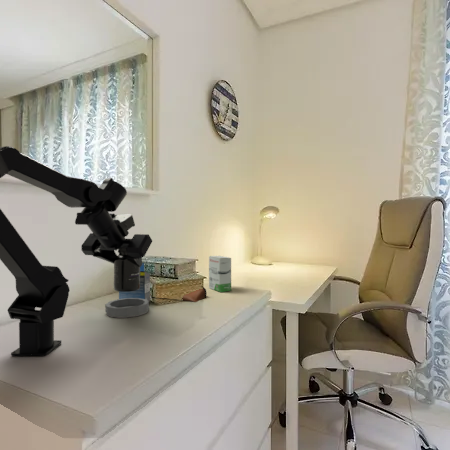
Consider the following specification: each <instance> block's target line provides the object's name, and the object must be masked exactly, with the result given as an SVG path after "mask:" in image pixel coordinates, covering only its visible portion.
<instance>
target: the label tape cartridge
mask: <svg viewBox="0 0 450 450" xmlns="http://www.w3.org/2000/svg"><path fill="white" fill-rule="evenodd" d="M150 278H151V274H150V273H148V272H147V271H145V262H142V266H141V267H140V288H139V289H138V290H136V291H130V292H119V291H118V299H124V298H141V299H146V300H148V301H149V302H150V301H151V298H150V295H151V279H150Z"/></svg>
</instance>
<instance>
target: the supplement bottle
mask: <svg viewBox="0 0 450 450" xmlns="http://www.w3.org/2000/svg"><path fill="white" fill-rule="evenodd" d="M117 253H118V254H117V256H116V257H115V259H114V264H113V290H114V291H115V292H118V293H119V292H130V291H136V290H138V289H139V288H140V267H139V266H137V265H136V264H134V263H133V262H132V261H130V260H129V259H127V256H128V253H127V248H120V249H119V250H117Z"/></svg>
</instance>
